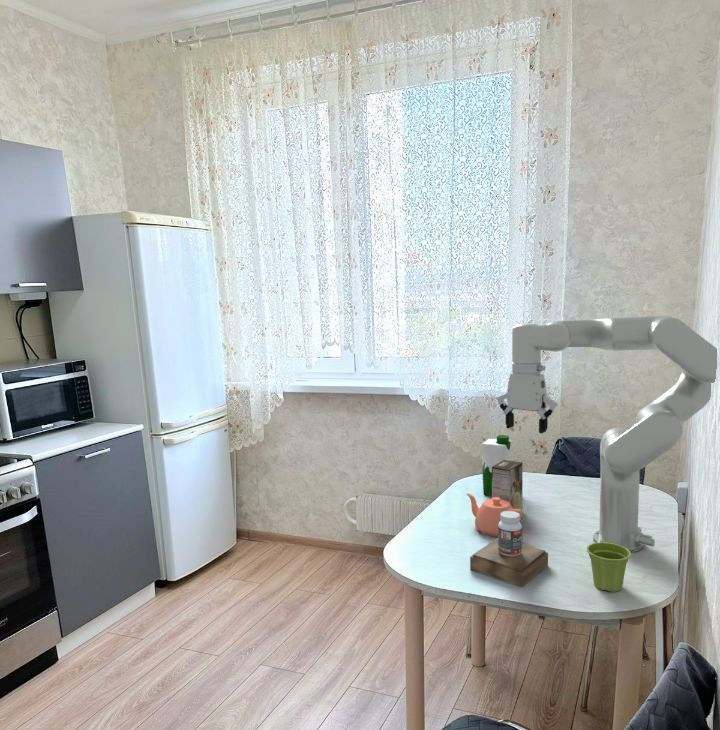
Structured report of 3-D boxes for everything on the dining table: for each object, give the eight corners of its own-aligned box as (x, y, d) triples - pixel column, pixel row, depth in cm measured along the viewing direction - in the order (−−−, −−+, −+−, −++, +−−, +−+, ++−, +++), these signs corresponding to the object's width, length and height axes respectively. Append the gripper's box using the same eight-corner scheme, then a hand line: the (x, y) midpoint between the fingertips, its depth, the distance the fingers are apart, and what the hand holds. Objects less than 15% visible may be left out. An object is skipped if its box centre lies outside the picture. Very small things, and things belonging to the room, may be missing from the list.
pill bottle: (517, 559, 142) (517, 520, 141) (495, 554, 145) (494, 516, 144) (524, 550, 147) (524, 512, 146) (502, 545, 150) (502, 508, 149)
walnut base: (548, 565, 147) (548, 550, 147) (522, 587, 137) (522, 571, 136) (498, 550, 157) (498, 536, 156) (470, 569, 146) (470, 554, 146)
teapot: (512, 544, 160) (512, 510, 159) (456, 527, 172) (455, 496, 171) (532, 529, 169) (532, 498, 168) (477, 515, 181) (477, 485, 180)
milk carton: (505, 499, 194) (505, 440, 191) (479, 495, 198) (479, 437, 196) (513, 491, 201) (513, 434, 199) (488, 487, 206) (487, 431, 203)
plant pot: (577, 580, 140) (578, 545, 138) (610, 573, 142) (610, 539, 141) (605, 599, 131) (605, 562, 130) (639, 591, 134) (640, 555, 132)
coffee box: (503, 507, 186) (503, 458, 184) (523, 511, 183) (523, 462, 181) (491, 517, 179) (491, 466, 177) (511, 521, 175) (511, 469, 173)
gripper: (562, 369, 157) (561, 431, 159) (504, 365, 169) (504, 423, 171) (550, 372, 152) (550, 437, 154) (491, 368, 163) (491, 428, 165)
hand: (526, 429), depth 162 cm, fingers open, 9 cm apart
